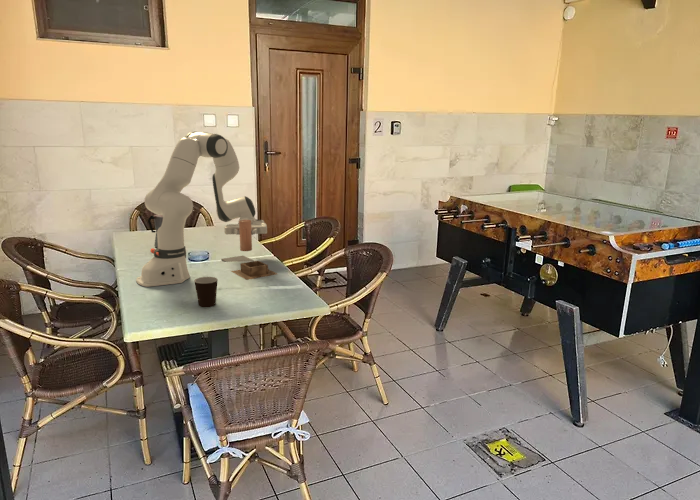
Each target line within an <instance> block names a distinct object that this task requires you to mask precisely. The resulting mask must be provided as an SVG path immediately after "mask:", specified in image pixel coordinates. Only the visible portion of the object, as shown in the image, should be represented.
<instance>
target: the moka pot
mask: <svg viewBox="0 0 700 500" xmlns="http://www.w3.org/2000/svg"><path fill="white" fill-rule="evenodd" d="M151 220H153V221H154V228H155V230H154V229H153V226H152V222H151ZM162 221H163V215H158V214H153V215H150V217H148V219H147V223H148V225H149V228H150V231H151V233H155V238H154V248H158V238H157V230H158V229H159V228H160V227H161V225H162Z"/></svg>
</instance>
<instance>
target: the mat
mask: <svg viewBox="0 0 700 500" xmlns="http://www.w3.org/2000/svg"><path fill="white" fill-rule="evenodd" d="M221 261H222V262H224V263H232V262H234V263H235V262H236V263H237V262H253V261H255V260H253V259H251V258H249V257H247V256H245V255H238V256H231V257H230V256H229V257H225V258H221Z"/></svg>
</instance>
